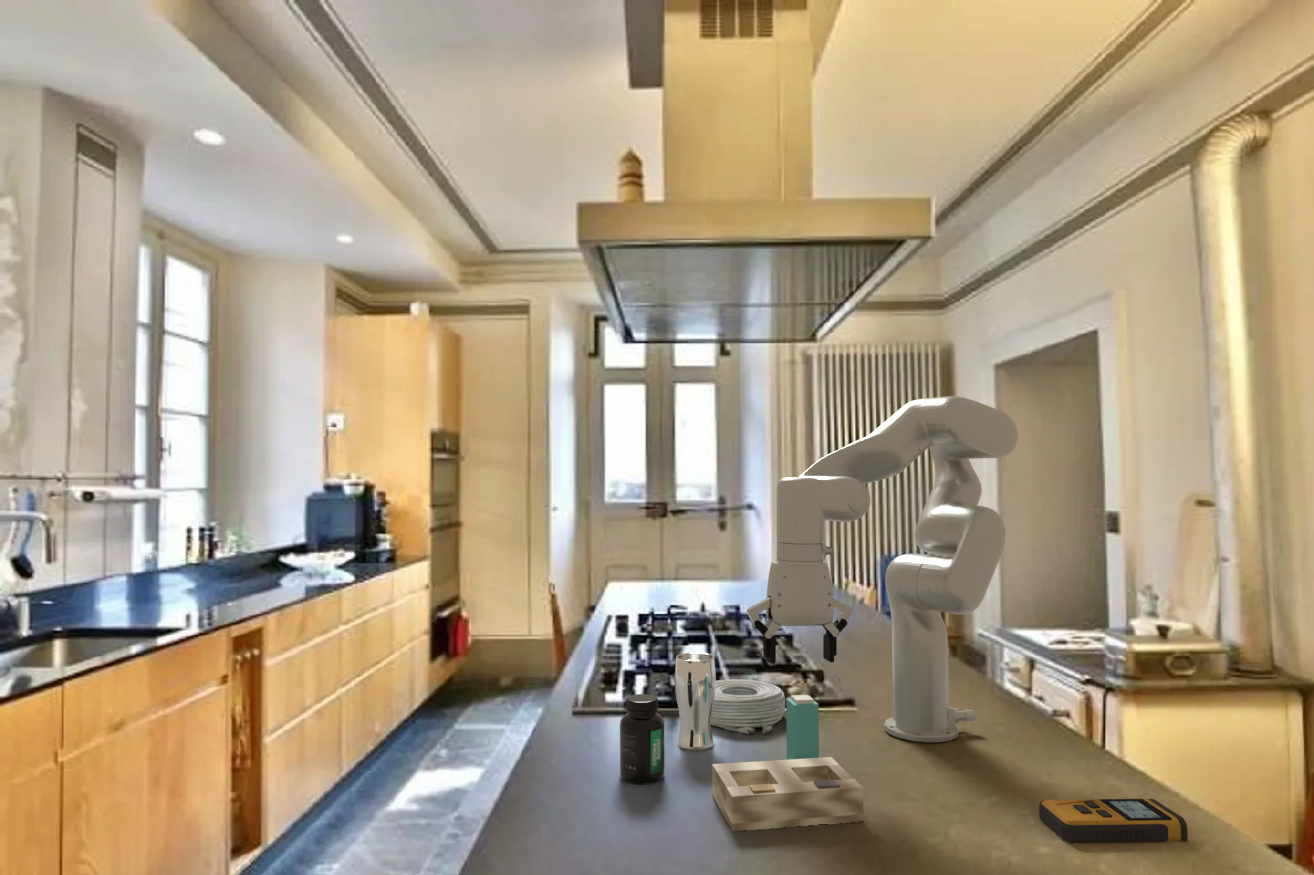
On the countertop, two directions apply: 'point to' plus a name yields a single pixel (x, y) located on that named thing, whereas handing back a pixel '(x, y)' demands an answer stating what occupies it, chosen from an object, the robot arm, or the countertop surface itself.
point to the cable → (747, 705)
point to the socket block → (786, 793)
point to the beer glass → (695, 699)
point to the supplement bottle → (642, 741)
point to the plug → (802, 727)
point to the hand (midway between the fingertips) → (799, 661)
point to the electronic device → (1113, 821)
